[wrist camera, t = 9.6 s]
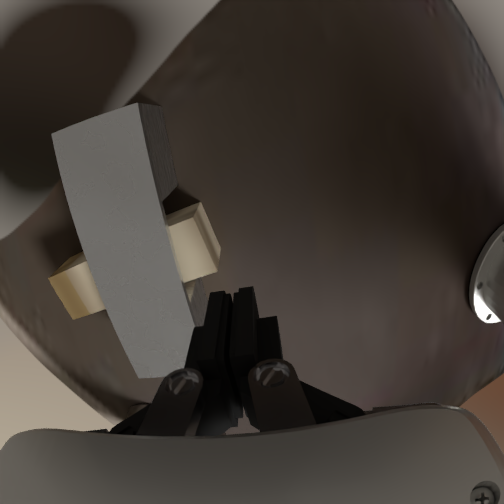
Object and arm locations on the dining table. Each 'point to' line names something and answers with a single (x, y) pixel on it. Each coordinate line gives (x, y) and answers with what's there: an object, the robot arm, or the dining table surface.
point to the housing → (131, 232)
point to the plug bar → (187, 251)
